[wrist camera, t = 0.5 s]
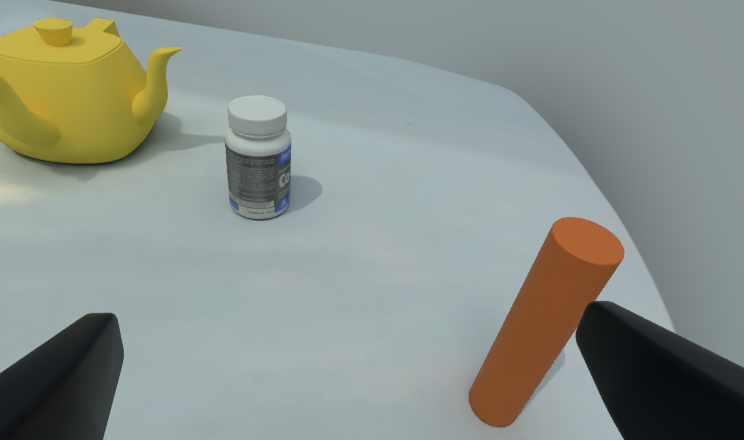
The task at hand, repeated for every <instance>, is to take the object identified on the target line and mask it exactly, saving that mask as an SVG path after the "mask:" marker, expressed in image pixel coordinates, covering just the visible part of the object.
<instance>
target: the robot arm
mask: <svg viewBox="0 0 744 440" xmlns="http://www.w3.org/2000/svg"><path fill="white" fill-rule="evenodd" d="M576 342H577V345H578V347H579V349H580V351H581V354H582V356H583V358H584V360H585V362H586V365H587V367H588V369H589V371H590V373H591V376H592V378H593V380H594V382H595V384H596V387H597V389H598V391H599V393H600V395H601V398H602V400H603V402H604V404H605V406H606V408H607V410H608V412H609V414H610V416H611V418H612V419H613V421H614V423H615V425H616V427H617V428H618V430H619V432H620V434H621V435H622V437H623V439H624V440H744V368H743V367H741V366H739V365H737V364H735V363H733V362H731V361H729V360H727V359H725V358H723V357H721V356H719V355H717V354H715V353H713V352H711V351H709V350H707V349H705V348H703V347H701V346H699V345H697V344H695V343H693V342H691V341H689V340H687V339H685V338H683V337H681V336H679V335H677V334H675V333H673V332H671V331H669V330H667V329H665V328H663V327H661V326H659V325H657V324H655V323H653V322H651V321H649V320H647V319H645V318H643V317H641V316H639V315H637V314H635V313H633V312H631V311H629V310H627V309H625V308H623V307H621V306H619V305H617V304H615V303H613V302H609V301H593V302H590V303H589V304H588V305H587V306H586V308H585V310H584V313H583V315H582V318H581V320H580V323H579V325H578V328H577V330H576ZM123 359H124V349H123V344H122V339H121V334H120V329H119V324H118V319H117V317H116V315H114V314H113V313H90V314H86V315H85V316H83V317H81V318H80V319H79V320H77V321H76V322H74V323H73V324H71V325H70V326H68V327H67V328H65V329H64V330H62V331H61V332H60V333H58V334H57V335H55V336H54V337H52V338H51V339H49V340H48V341H46V342H45V343H43V344H42V345H41V346H39V347H38V348H36V349H35V350H33V351H32V352H30V353H29V354H27V355H26V356H24V357H23V358H22V359H20V360H19V361H17V362H16V363H14V364H13V365H11V366H10V367H8V368H7V369H5V370H4V371H3V372H1V373H0V440H103V437H104V433H105V430H106V426H107V422H108V418H109V414H110V410H111V407H112V403H113V399H114V395H115V391H116V387H117V384H118V380H119V376H120V372H121V368H122V364H123Z"/></svg>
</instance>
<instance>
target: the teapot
mask: <svg viewBox="0 0 744 440" xmlns="http://www.w3.org/2000/svg"><path fill="white" fill-rule="evenodd" d="M33 25H34V26H30V27H26V28H22V29H19V30H17V31H14V32H12V33H9V34H7V35H5V36H3V37H1V38H0V142H2V143H3V144H4V145H6V146H7V147H9V148H11V149H13V150H14V151H16V152H18V153H21V154H23V155H26V156H29V157H33V158H37V159H41V160H46V161H52V162H60V163H103V162H110V161H114V160H118V159H120V158H123V157H125V156H126V155H128V154H129V153H131V152H132V151H133V150H134V149H136V148H137V147H138V146H139V145H140V144H141V143H142V142H143V141H144V139H145V138H146V137H147V135H148V134H149V132H150V131H151V129H152V127H153V125H154V123H155V121H156V119H157V117H158V116H159V115H160V114H161V113H162V112H163V110H164V108H165V106H166V103H167V97H168V90H167V80H166V66H167V62H168V60H169V59H170V57H171V56H173V55H174V54H175V53H176V52H178V51H180V50H181V49H182V48H181V47H166V48H160V49H157V50H155V51H153V52H152V53H151V55H150V56H149V58H148V61H147V69H146V73H145V71H144V69H143V68H142V66H141V64H140V63H139V62H138V60H137V59H136V57H135V56H134V54H133V53H132V51H131V50H130V49H129V47H128V46H127V45H126V44H125V42H124V41H123V40H122V39H121V38H120V36H119V33H118V30H117V28H116V25H115V22H114V21H113V20H105V19H98V18H94V19H93V20H92V21H91V22H90V23H89V24H88V25H86V26H85V27H84V28H77V27H72V22H70V21H68V20H64V19H59V18H47V19H41V20H38V21H36V22H34V23H33Z"/></svg>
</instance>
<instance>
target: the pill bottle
mask: <svg viewBox="0 0 744 440" xmlns="http://www.w3.org/2000/svg"><path fill="white" fill-rule="evenodd" d="M228 119H229V126H230V127H229V128H228V130H227V131H226V134H225V147H226V163H227V174H228V186H229V198H230V204H231V207H232V208H233V210H234V211H235V212H237V213H238V214H240V215H241V216H244V217H247V218H251V219H267V218H272V217H275V216H277V215H279V214H281V213H282V212H284V211H285V210H286V209H287V207H288V205H289V200H290V170H291V136H290V133H289V131H288V130H287V129H286V125H287V111H286V106H285V105H284V104H283V103H282V102H281V101H279V100H277V99H275V98H271V97H267V96H258V95H253V96H244V97H240V98H237V99H235V100H233V101H232V102H231V103H230V104H229V106H228Z"/></svg>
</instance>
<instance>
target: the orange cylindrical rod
mask: <svg viewBox="0 0 744 440" xmlns="http://www.w3.org/2000/svg"><path fill="white" fill-rule="evenodd" d="M623 258H624V248H623V246H622V244H621V242H620V241H619V240H618V238H617V237H616V236H615V235H614V234H612V233H611V232H610V231H609V230H607V229H606V228H604V227H602V226H600V225H598V224H596V223H594V222H592V221H589V220H585V219H581V218H575V217H567V218H562V219H559V220H558V221H556V222H555V223H554V224H553V226H552V227H551V229H550V231H549V233H548V235H547V237H546V239H545V241H544V243H543V245H542V247H541V249H540V251H539V253H538V255H537V257H536V259H535V261H534V263H533V265H532V267H531V269H530V271H529V273H528V275H527V277H526V279H525V281H524V283H523V285H522V287H521V289H520V291H519V293H518V295H517V297H516V299H515V301H514V303H513V305H512V307H511V309H510V311H509V313H508V315H507V317H506V319H505V321H504V323H503V325H502V327H501V329H500V331H499V333H498V335H497V337H496V339H495V341H494V343H493V345H492V347H491V349H490V351H489V353H488V355H487V357H486V359H485V361H484V363H483V365H482V367H481V369H480V371H479V373H478V375H477V377H476V379H475V381H474V383H473V385H472V387H471V389H470V393H469V401H470V405H471V407H472V409H473V411H474V412H475V414H476V415H477V416H478V417H479V418H480V419H481V420H483V421H484V422H486V423H488V424H490V425H493V426H498V427H502V426H507V425H510V424H511V423H513V422H514V421H515V419H516V418H517V416H518V415H519V413H520V412H521V410H522V409H523V407H524V406H525V404H526V403H527V401H528V400H529V398H530V397H531V395H532V394H533V392H534V391H535V389H536V388H537V386H538V385H539V383H540V382H541V380H542V379H543V377H544V376H545V374H546V373H547V371H548V370H549V368H550V367H551V366H552V364H553V363H554V361H555V360H556V358H557V357H558V355H559V354H560V352H561V351H562V349H563V348H564V346H565V345H566V343H567V342H568V340H569V339H570V337H571V336H572V334H573V333H574V331H575V330H576V328H577V327H578V325H579V323H580V320H581V318H582V315H583V313H584V310H585V308H586V306H587V305H588V304H589V303H590V302H593V301H595V300H596V298H597V297H598V295H599V294H600V292H601V291H602V289H603V288H604V287H605V285H606V284H607V282H608V281H609V279H610V278H611V276H612V275H613V273H614V272H615V270H616V269H617V267H618V266H619V264H620V263H621V261H622V260H623Z"/></svg>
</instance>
